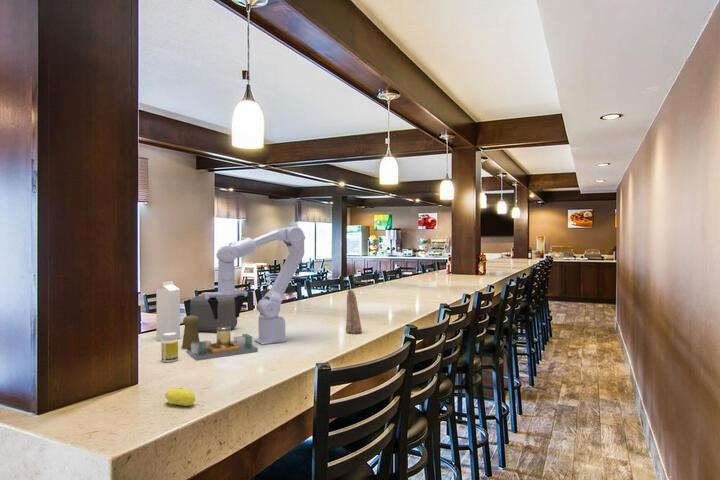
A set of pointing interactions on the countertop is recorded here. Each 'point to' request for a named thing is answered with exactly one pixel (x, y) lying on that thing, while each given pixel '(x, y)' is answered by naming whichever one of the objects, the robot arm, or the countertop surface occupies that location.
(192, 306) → the dark grey rounded block
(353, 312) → the brown tapered stone
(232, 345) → the bench plate
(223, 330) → the tan and grey cylinder
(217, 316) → the robot arm
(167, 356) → the supplement bottle
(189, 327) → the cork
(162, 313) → the milk
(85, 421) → the countertop surface
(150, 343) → the countertop surface
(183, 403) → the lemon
